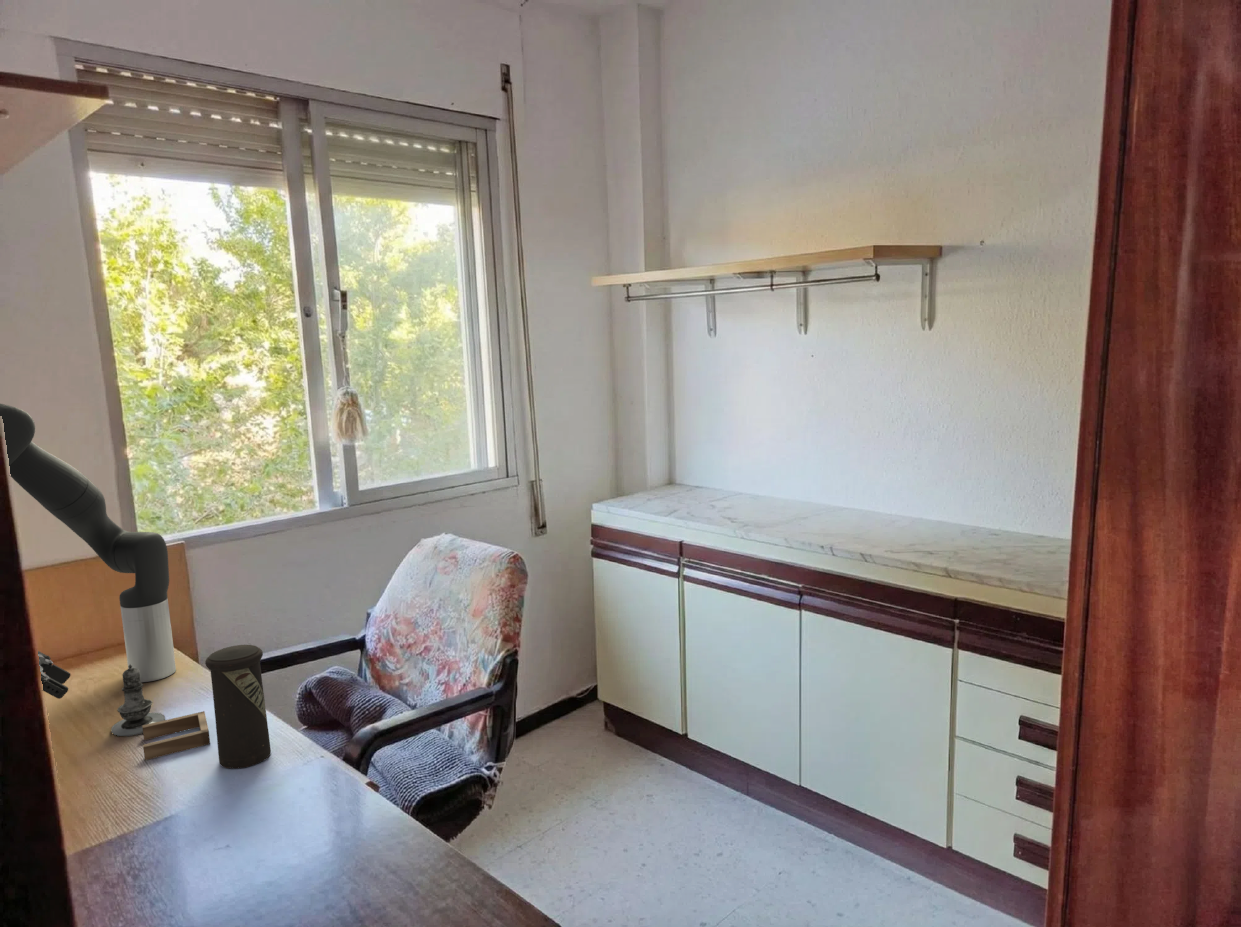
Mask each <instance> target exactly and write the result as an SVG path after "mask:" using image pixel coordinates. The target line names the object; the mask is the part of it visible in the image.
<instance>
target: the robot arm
mask: <svg viewBox="0 0 1241 927" xmlns="http://www.w3.org/2000/svg"><path fill="white" fill-rule="evenodd" d="M0 416H2V419H3V423H4V432H5V440H6V445H7V454H8V458H9V466H10V474H11V476H10V477H11V478H12V480H13V481H15V482H16V483H17V484H18V485H19V487H21V488H22V489H23V490H25V492H27V493H28V494H29V495H30V496H31V497H32V498H33V499H34V500H35V501H37V502H38V503H39V504H40V505H41V506H42V507H43V508H44V509H45V510H47V511H48V512H49V513H50V514H51V515H52V516H53V517H55V518H56V519H58V520H59V521H60V522H62V523H63V524H64V525H65V526H66V527H67V528H69V529H70V530H71V531H72V532H74V534H76V535H77V536H78V537H80V539H81V540H83V541H84V542H85V543H86V544H87V545H88V546H89V547H90V548H91V549H92V550H93V551H94V553H96V554H95V555H97V556H98V557H99V558H100V559H101V560H102V561H103V563H104V564H106V566H107V567H109V568H110V569H111V570H113V571H114V572H118V573H122V574H134V575H135V576H134V578H135V579H134V580H135V582H134V583H135V584H134V585H133V586H132V587H129V588H126V589H125V590H123V591H121V592H120V594H119V598H118V599H119V605H120V606H119V607H120V615H121V621H122V629H123V638H124V647H125V653H126V661H127V664H126V665H127V669H129V667H128V666H129V665H130V664H131V665H132V668H136V669H138V670H139V671H140V679H141V683H147V682H153V681H159V680H161V679H164V678H167V677H169V676H171V675H173V674H174V673H175V672H176V671H177V669H176V658H175V650H174V649H175V648H174V641H173V640H174V639H173V632H172V625H171V615H170V606H169V600H168V598H169V597H168V589H169V585H170V573H169V571H170V570H169V553H168V547H167V546H168V545H167V543H166V540H165V539H164V537H163V536H162V535H161V534H160V533H158V532H154V531H128V530H126V529H125V530H124V529H123V528H121V527H120V526H119V525H117V523H116V522H114V521H113V520H112V519H111V518H110V517H109V516H108V513H107V505H106V499H105V497H104V494H103V492H102V491H101V490H100V488H99V487H97V485H96V484H94V483H93V482H92V481H91V480H90V479H89V478H88V477H87V476H86V475H84V473H83V472H81V471H80V470H78V469H77V468H75V467H74V466H73V465H71V464H70V463H68V462H66V461H64V460H62V459H61V458H59V457H57V456H55V455H54V454H52V453H50V452H49V451H47V450H45V449H44V448H42V447H40V446H39V445H38V444H36V443H35V442H34V441H33V439H34V437H35V432H36V425H35V421H34V419H33V417H32V416H31V415H30V413H28V411H25V410H23V409H22V408H19V407H16V406H12V405H9V404H4V403H0ZM38 656H39V666H40V672H41V681H42V684H43V690H42V691H43V692H44V693H47V694H49V695H50V696H52V697H54V698H56V699H59V700H60V699H62V698H63V697H64V696H65V695H66V694H67V693H68V692H69V687H68V686H66V685H65V683H67V681H68V680H69V679H70V678H71V672H69V671H67V670H65V669H63V668H61V667H60V666H58V665H56V664H54V662H53V661H52V660H51V659H52V658H51V657H50V656H49V655H47V654H46V653H43V652H41V651H40V650H38Z"/></svg>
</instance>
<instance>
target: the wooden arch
mask: <svg viewBox="0 0 1241 927" xmlns="http://www.w3.org/2000/svg"><path fill="white" fill-rule="evenodd" d="M197 728H199V730H198V731H194V732H189V733H185V734H182V735H176V736H173V737H170V738H169V737H168V738H165V739H161V740H157V741H153V742H148V743H145V744H142V749H143V757H144V761H148V760H153V759H157V758H161V757H166V756H169V755H173V754H176V753H180V752H184V751H188V750H192V749H196V748H201V747H204V746H208V745H210V744H211V739H210V731H209V730H210V729H209V726H208V721H207V718H206V711H205V710H203V711H199V712H194V713H192V714H187V715H182V716H177V717H174V718H173V717H172V718H168V719H165V720H164V721H160V722H155V723H151V724H147V725H143V734H142V735H143V740H144V741H147V740H152V739H157V738H160V737H164V736H168V735H172V734H176V733H175V732H177V733H181V732H184V730H186V731H189V730H188V729H190V730H193V729H197ZM180 731H181V732H180ZM156 737H157V738H156Z"/></svg>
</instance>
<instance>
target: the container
mask: <svg viewBox="0 0 1241 927" xmlns="http://www.w3.org/2000/svg"><path fill="white" fill-rule="evenodd" d="M263 654H264V652H263V650H262V648H260V647H258V646H257V645H255V644H253V645H252V644H239V645H238V644H237V645H232V646H227V647H224V648H220V649H218V650H216V651H214V652H212V653H210V655H209V656H207V657H206V659H205V661H204V664H205V667H206V668H207V669H208V670H209V671H210V678H211V687H212V699H213V709H214V718H215V729H216V731H215V732H216V740H217V741H216V742H217V751H218V752H217V754H218V761H219V764H220V766H221V767H223V768H226V769H244V768H248V767H252V766H256V765H258V764H260V763H261V762H264V761H266V760H268V759H269V757H270V755H271V754H272V750H271V742H270V733H269V732H270V731H269V726H268V724H269V723H268V717H267V710H266V702H265V701H266V700H265V694H264V686H263V676H262V669H261V660H262V658H263V656H264V655H263Z"/></svg>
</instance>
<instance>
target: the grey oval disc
mask: <svg viewBox="0 0 1241 927" xmlns="http://www.w3.org/2000/svg"><path fill="white" fill-rule="evenodd" d="M147 716H149V717H152V718H153V720H152V722H151V723H155V722H160V721H164V720H166V716H165V714H163V713H162V712H161V713H160V712H149V713H148V715H147ZM125 721H126V720H125V719H123V718H122V719H121V720H119V721H117V722H116V723H114V724H113V725H112V726H111V729H110V730H111V731H110V732H111V734H112V733H113V734H114V735H113V734H112V735H113V736H115V735H117V736H116V737H119V736H127V737H134V736H133V735H135V736H138V735H137V734H139V735H142V734H141V733H143V727H140V728H136V729H123V728H122V727H121V725H122V724H123V723H124V722H125ZM151 723H149V724H151Z"/></svg>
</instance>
